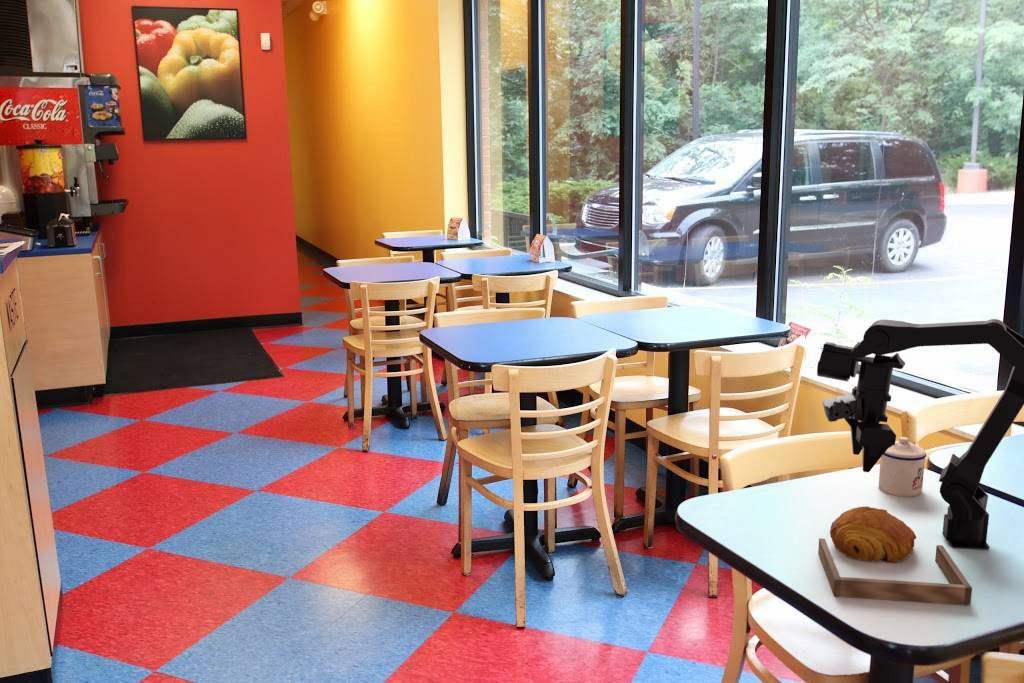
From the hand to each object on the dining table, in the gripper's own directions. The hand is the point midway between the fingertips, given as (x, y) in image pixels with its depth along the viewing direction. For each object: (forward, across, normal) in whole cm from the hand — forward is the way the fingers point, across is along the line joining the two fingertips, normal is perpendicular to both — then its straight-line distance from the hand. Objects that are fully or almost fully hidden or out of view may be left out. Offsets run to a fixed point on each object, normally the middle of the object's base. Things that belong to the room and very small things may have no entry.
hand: (860, 462), depth 173 cm
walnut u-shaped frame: (+11, +24, +2) cm, 27 cm away
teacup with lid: (+12, -20, +14) cm, 27 cm away
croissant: (+12, +12, +1) cm, 17 cm away
